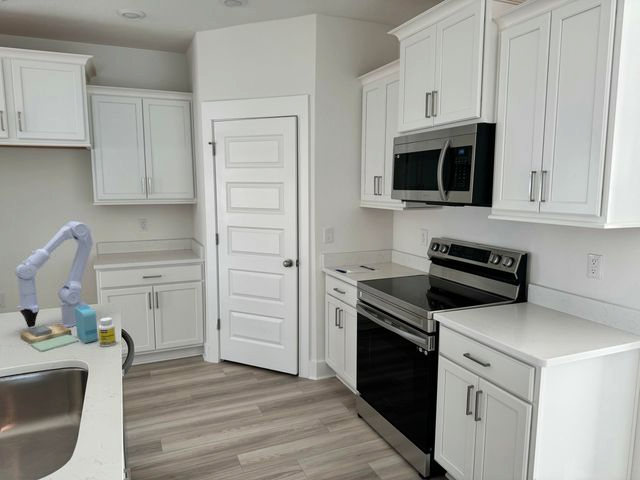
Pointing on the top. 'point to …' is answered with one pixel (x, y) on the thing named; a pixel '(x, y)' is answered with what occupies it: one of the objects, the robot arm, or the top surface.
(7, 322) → the top surface
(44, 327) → the slate tile
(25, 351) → the top surface
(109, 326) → the supplement bottle
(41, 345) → the green mat
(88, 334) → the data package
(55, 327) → the oak board
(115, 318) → the top surface
